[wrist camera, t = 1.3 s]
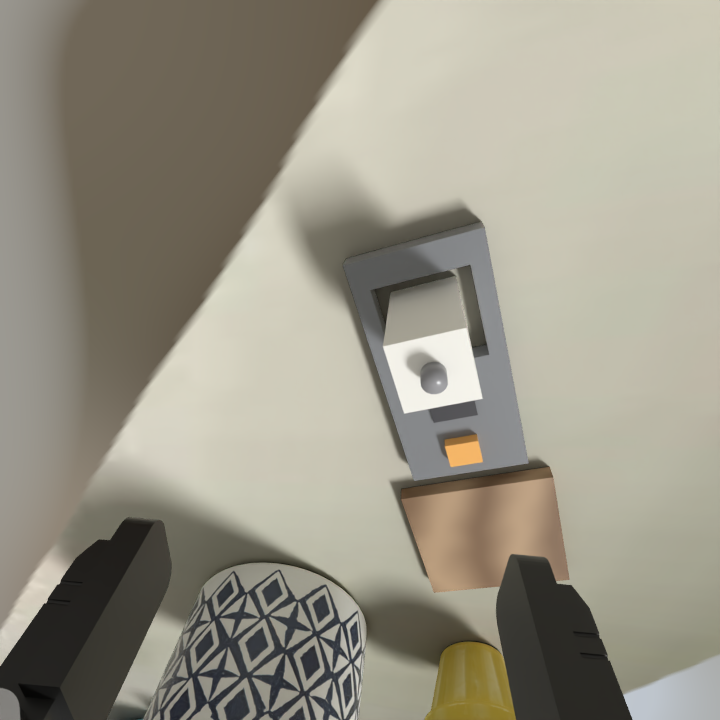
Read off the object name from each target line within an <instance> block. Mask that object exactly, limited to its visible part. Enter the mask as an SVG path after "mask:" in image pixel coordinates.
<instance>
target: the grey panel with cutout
mask: <svg viewBox="0 0 720 720" xmlns="http://www.w3.org/2000/svg"><path fill="white" fill-rule="evenodd" d="M467 265H470V267H471V272H472V277H473V282H474V286H475V291H476V296H477V301H478V306H479V311H480V315H481V320H482V325H483V330H484V335H485V339H486V344H487V345H482V346H478V347H473V348H472V350H473V355H474V360H475V365H476V370H477V374H478V379H479V384H480V389H481V393H482V398H483V399H479V400H474V401H468V402H463V403H458V404H453V405H447V406H442V407H437V408H431V409H426V410H421V411H416V412H410V413H405V414H404V412H403V408H402V405H401V402H400V399H399V396H398V393H397V389H396V386H395V383H394V380H393V377H392V374H391V371H390V367H389V364H388V361H387V358H386V355H385V352H384V348H383V342H384V335H385V328H386V326H385V322H384V319H383V316H382V312H381V309H380V306H379V303H378V299H377V296H376V293H375V290H374V289H377V288H381V287H385V286H389V285H393V284H397V283H400V282H404V281H408V280H412V279H416V278H420V277H424V276H428V275H432V274H436V273H440V272H444V271H448V270H452V269H455V268H459V267H463V266H467ZM343 268H344V271H345V274H346V277H347V280H348V283H349V286H350V289H351V292H352V295H353V298H354V301H355V304H356V307H357V310H358V313H359V316H360V319H361V322H362V325H363V328H364V331H365V334H366V337H367V340H368V343H369V346H370V349H371V352H372V355H373V358H374V362H375V365H376V368H377V371H378V374H379V377H380V380H381V383H382V386H383V389H384V392H385V395H386V398H387V401H388V404H389V407H390V410H391V413H392V416H393V419H394V422H395V425H396V428H397V431H398V434H399V437H400V440H401V443H402V446H403V449H404V452H405V455H406V458H407V461H408V464H409V467H410V470H411V473H412V476H413V479H414V481H417V480H424V479H430V478H437V477H443V476H450V475H456V474H463V473H469V472H476V471H482V470H489V469H495V468H502V467H509V466H515V465H522V464H528V457H527V452H526V446H525V441H524V436H523V430H522V425H521V420H520V414H519V409H518V404H517V398H516V393H515V387H514V382H513V377H512V371H511V366H510V361H509V355H508V350H507V344H506V339H505V334H504V328H503V323H502V318H501V312H500V307H499V302H498V296H497V291H496V285H495V280H494V275H493V269H492V264H491V259H490V253H489V248H488V243H487V237H486V232H485V227H484V225H483V223H482V221H481V222H478V223H474V224H470V225H467V226H463V227H459V228H456V229H452V230H448V231H445V232H441V233H438V234H434V235H430V236H427V237H423V238H419V239H416V240H412V241H408V242H405V243H401V244H397V245H394V246H390V247H386V248H383V249H379V250H375V251H372V252H368V253H365V254H361V255H357V256H354V257H350V258H346V260H345V262H344V264H343Z"/></svg>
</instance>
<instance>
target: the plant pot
mask: <svg viewBox="0 0 720 720" xmlns="http://www.w3.org/2000/svg"><path fill="white" fill-rule="evenodd" d="M425 720H516V717H515V712H514V707H513V702H512V697H511V692H510V687H509V682H508V676H507V671H506V666H505V661H504V658H503V656H502V655H501V654H500V652H499V651H497V650H496V649H495V648H493V647H491V646H489V645H487V644H483V643H479V642H459V643H456V644H453V645H450V646H449V647H447V648H446V649H445V650H444V651H443V652H442V654H441V657H440V663H439V669H438V675H437V681H436V686H435V692H434V697H433V703H432V708H431V711H430V712H429V713H428V714H427V716H426V717H425Z"/></svg>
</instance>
